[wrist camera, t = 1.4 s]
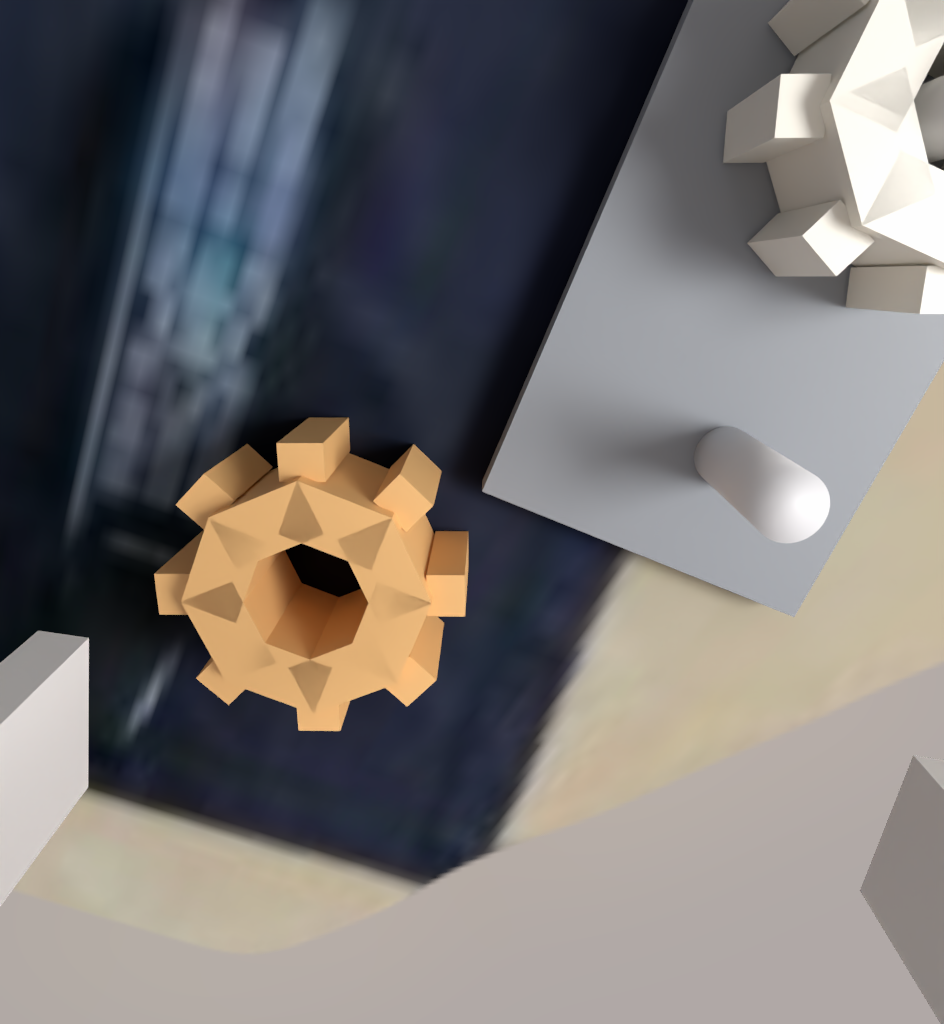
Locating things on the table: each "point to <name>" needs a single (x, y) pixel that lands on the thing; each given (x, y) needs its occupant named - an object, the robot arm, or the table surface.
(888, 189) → the gear
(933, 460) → the table surface
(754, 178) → the gear board
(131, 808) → the table surface
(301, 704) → the gear
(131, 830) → the table surface
